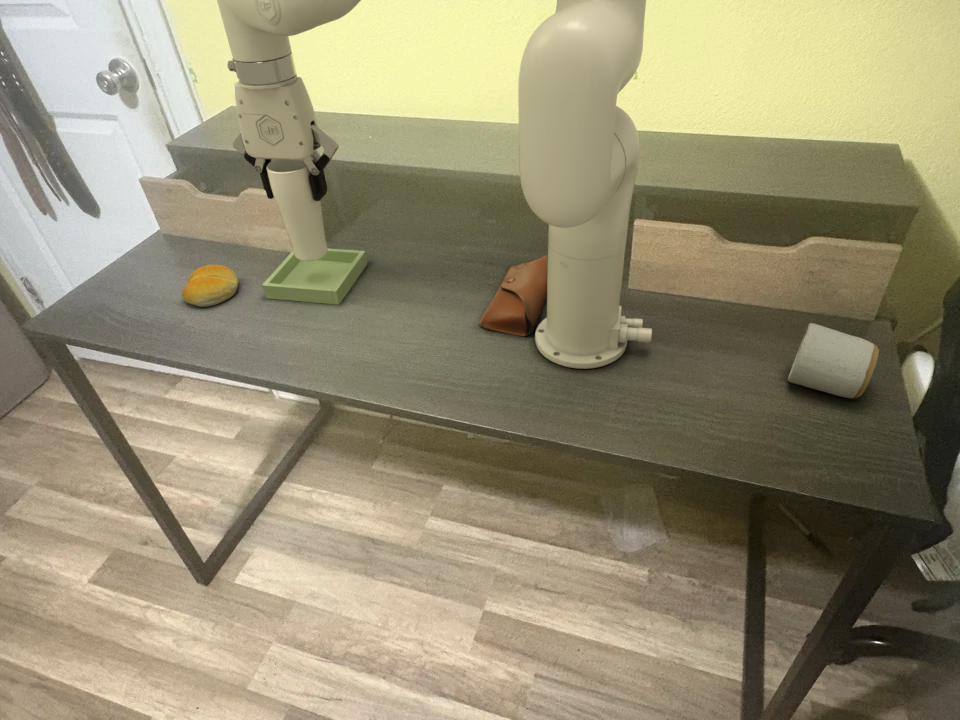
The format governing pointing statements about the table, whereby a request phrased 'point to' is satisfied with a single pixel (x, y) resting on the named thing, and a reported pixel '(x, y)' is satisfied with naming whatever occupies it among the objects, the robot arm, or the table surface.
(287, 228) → the drinking glass
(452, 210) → the table surface
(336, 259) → the tray
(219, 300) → the bread roll
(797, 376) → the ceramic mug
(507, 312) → the sunglasses case
